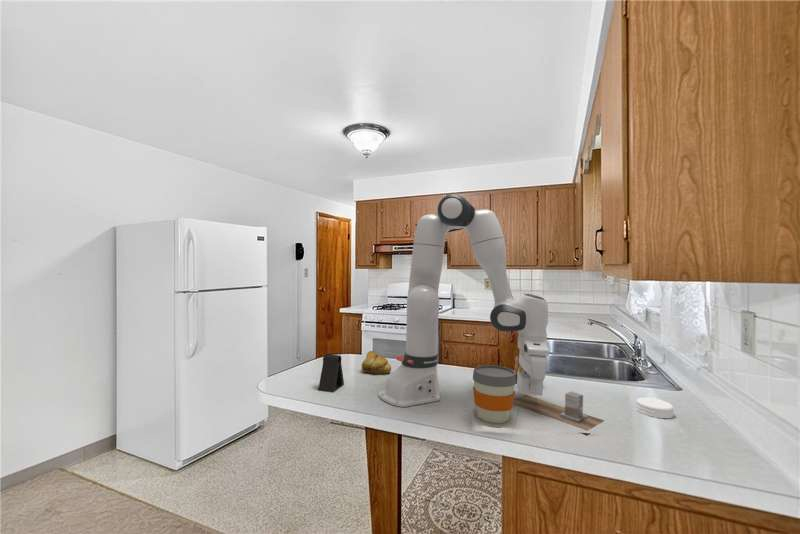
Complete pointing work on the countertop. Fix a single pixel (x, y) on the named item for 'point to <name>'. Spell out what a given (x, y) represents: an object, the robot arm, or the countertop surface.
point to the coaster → (654, 407)
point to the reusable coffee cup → (494, 392)
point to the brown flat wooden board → (561, 410)
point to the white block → (527, 384)
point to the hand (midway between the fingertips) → (529, 386)
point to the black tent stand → (331, 373)
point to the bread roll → (375, 364)
